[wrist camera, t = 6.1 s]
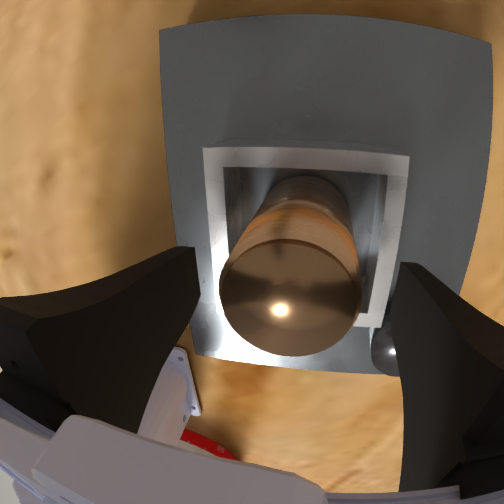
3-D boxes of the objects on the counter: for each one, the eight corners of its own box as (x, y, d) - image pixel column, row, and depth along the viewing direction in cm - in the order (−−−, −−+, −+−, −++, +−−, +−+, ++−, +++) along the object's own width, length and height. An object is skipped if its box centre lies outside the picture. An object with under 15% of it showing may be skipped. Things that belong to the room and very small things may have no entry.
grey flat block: (421, 349, 20) (433, 403, 16) (207, 331, 23) (182, 379, 19) (471, 48, 11) (516, 37, 7) (180, 37, 14) (132, 22, 10)
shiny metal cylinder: (346, 264, 16) (351, 365, 10) (261, 258, 17) (221, 352, 11) (353, 178, 14) (373, 243, 8) (258, 174, 15) (207, 233, 9)
